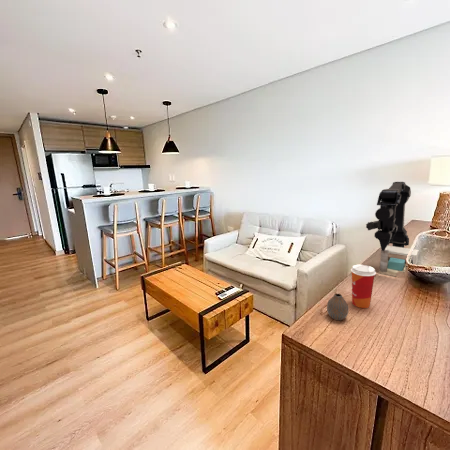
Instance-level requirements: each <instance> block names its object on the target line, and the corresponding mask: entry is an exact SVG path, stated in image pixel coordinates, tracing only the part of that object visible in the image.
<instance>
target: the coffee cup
mask: <svg viewBox="0 0 450 450" xmlns="http://www.w3.org/2000/svg"><path fill="white" fill-rule="evenodd" d="M350 272H351V304H352V305H353V306H355V307H356V308H359V309H368V308H370V307H371V301H372V295H373V288H374V282H375V275H376V274H377V272H376V269H375V268H374V267H372V266H370V265H365V264H360V263H359V264H353V265H352V268H350Z"/></svg>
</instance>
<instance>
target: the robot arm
mask: <svg viewBox="0 0 450 450" xmlns="http://www.w3.org/2000/svg"><path fill="white" fill-rule="evenodd" d="M391 184H392V185H391V186H389V188H385V189H382V190H381V191H380V192H379V194H378V197H377V202H376V206H380V207H379V208H378V209H377V210H375V213H374V216H375V218H376V219H377V220H373V221H370V222H369V221H368V222H367V223H366V224H365V225H366V227H365V228H366V229H367V231H371V230H375V229H377V230H376V231H375V232H374V238H375V239H377V241H378V240H379V244H380V245H379V246H380V249H381V250H382V251H384V250H385V249H386V247H387V246H390V244H391V246H394V247H402V248H405V247H407V246H409V245H410V238H409V235H408V231H407V230H406V228H405V213H406V211H405V209H406V203H407V202H408V201H409V199H410V197H411V195H412V190H411V187H410V186H409V185H407V184H406V181H394V182H392V183H391ZM381 250H380V251H381Z"/></svg>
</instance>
